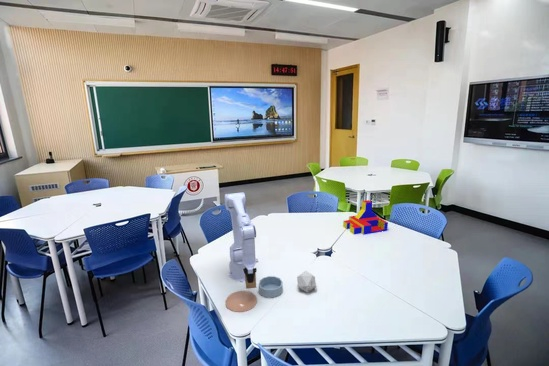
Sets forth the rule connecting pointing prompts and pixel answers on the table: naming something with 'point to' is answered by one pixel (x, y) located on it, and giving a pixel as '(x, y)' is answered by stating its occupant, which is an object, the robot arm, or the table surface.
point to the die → (306, 281)
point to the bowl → (270, 286)
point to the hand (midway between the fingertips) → (250, 279)
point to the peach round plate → (241, 301)
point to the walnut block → (250, 285)
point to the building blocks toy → (365, 221)
